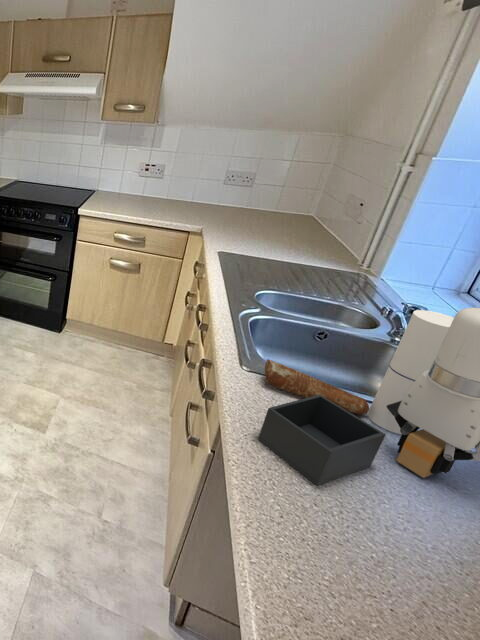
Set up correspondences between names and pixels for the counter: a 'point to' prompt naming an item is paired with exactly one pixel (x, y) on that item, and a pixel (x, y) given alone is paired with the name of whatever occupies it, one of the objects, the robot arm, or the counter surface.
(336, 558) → the counter surface
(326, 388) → the bread
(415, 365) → the cylindrical container
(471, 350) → the robot arm
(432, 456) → the carton
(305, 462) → the bin
